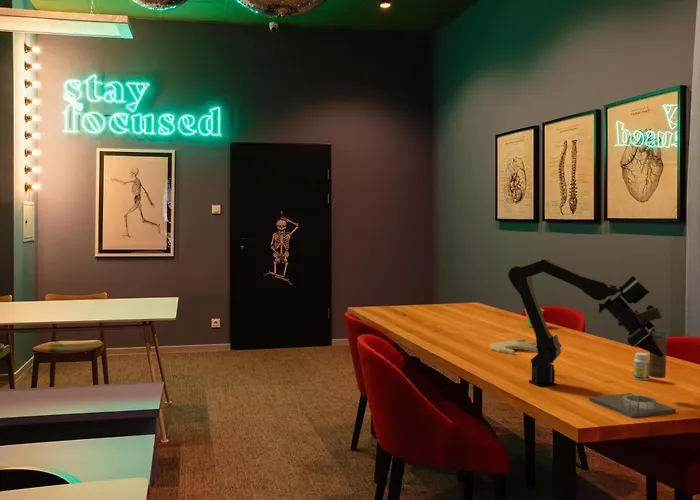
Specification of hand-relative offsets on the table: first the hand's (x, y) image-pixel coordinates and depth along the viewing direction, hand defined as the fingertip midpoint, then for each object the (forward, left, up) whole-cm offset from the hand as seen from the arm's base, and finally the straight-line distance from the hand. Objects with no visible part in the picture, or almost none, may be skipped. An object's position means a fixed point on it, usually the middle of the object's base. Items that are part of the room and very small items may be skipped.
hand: (663, 354), depth 189 cm
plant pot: (+40, +122, -14) cm, 129 cm away
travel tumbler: (-1, +1, -7) cm, 7 cm away
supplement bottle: (+13, +22, -14) cm, 29 cm away
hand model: (-1, +75, -14) cm, 76 cm away
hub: (-14, -3, -13) cm, 19 cm away
